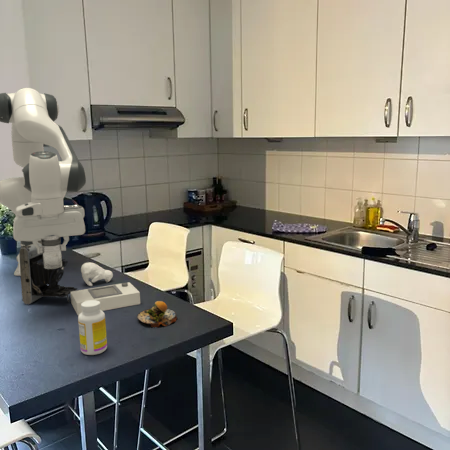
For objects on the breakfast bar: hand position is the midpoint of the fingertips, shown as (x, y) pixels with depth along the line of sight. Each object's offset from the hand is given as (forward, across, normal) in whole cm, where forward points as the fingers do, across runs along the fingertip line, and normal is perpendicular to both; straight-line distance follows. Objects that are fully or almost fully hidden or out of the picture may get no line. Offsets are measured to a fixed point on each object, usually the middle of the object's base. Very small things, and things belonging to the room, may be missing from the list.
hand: (51, 251), depth 138 cm
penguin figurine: (+21, -18, -25) cm, 37 cm away
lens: (+5, 0, 0) cm, 5 cm away
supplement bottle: (+20, -5, +30) cm, 37 cm away
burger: (+20, -26, +19) cm, 38 cm away
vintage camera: (+20, 0, -13) cm, 24 cm away
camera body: (+20, -16, -2) cm, 25 cm away
